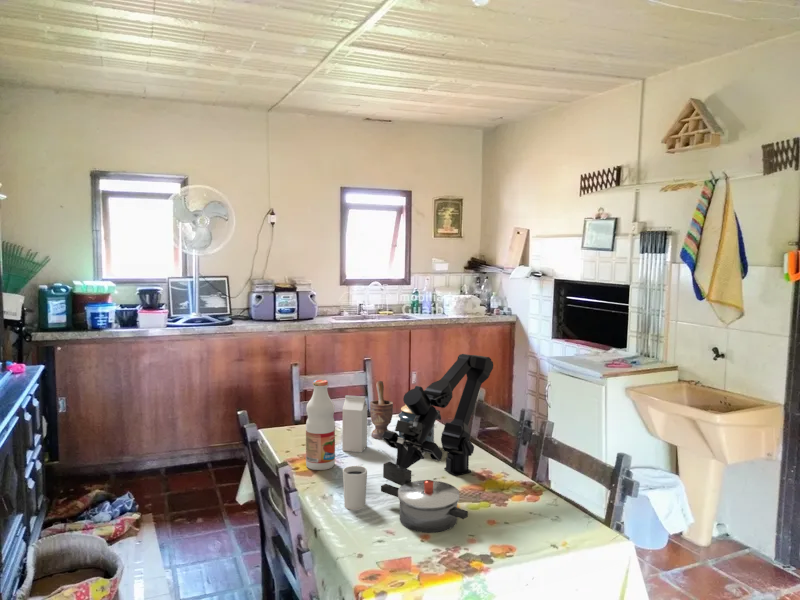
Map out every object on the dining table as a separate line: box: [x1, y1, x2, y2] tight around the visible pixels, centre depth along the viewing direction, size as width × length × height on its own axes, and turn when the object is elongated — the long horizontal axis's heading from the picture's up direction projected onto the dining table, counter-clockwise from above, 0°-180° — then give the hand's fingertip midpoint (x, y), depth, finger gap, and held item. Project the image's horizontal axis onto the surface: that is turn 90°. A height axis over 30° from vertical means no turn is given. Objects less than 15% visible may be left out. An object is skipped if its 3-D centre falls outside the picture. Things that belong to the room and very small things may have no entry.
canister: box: [398, 404, 436, 444], centre depth 212 cm, size 13×13×18 cm
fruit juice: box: [305, 379, 336, 471], centre depth 193 cm, size 9×9×28 cm
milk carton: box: [341, 395, 368, 453], centre depth 210 cm, size 7×7×19 cm
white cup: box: [342, 465, 368, 511], centre depth 164 cm, size 7×7×10 cm
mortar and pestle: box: [369, 380, 394, 440], centre depth 226 cm, size 12×9×20 cm
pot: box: [380, 483, 469, 534], centre depth 157 cm, size 15×27×6 cm, turn 51°
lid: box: [382, 461, 460, 510], centre depth 159 cm, size 16×25×4 cm, turn 42°
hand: (398, 471), depth 167 cm, fingers closed
